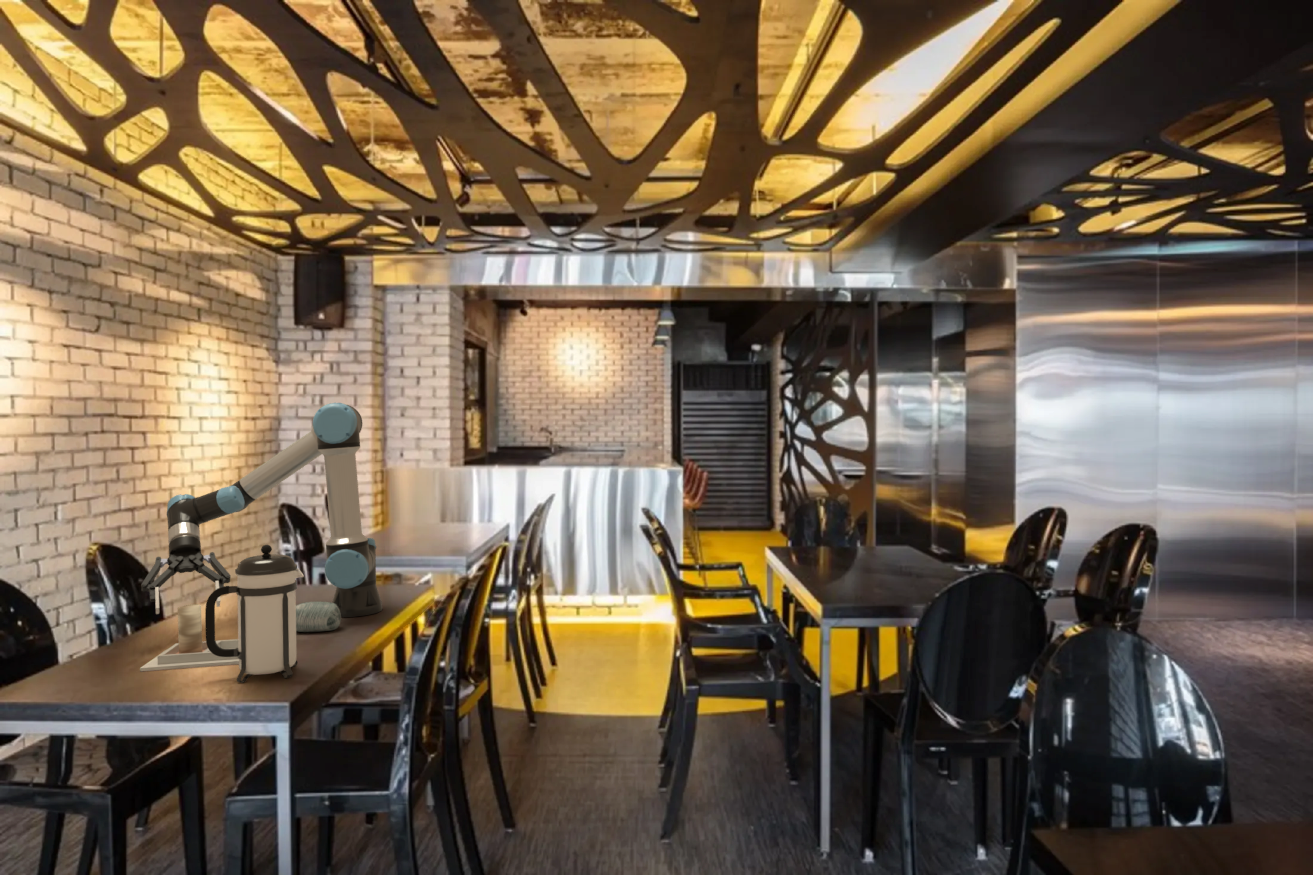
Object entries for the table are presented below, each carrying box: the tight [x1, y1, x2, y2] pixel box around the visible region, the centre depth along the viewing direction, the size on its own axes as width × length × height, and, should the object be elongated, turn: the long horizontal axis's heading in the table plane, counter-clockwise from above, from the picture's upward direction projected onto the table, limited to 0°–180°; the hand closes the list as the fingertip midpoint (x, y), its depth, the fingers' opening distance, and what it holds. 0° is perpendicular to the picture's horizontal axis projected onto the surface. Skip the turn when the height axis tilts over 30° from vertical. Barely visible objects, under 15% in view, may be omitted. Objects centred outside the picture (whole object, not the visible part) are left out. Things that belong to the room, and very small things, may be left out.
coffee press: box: [204, 544, 304, 684], centre depth 180 cm, size 17×16×30 cm
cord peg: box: [177, 604, 203, 654], centre depth 193 cm, size 5×5×12 cm
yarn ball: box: [296, 601, 342, 633], centre depth 221 cm, size 14×10×10 cm
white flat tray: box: [139, 638, 239, 672], centre depth 195 cm, size 26×16×3 cm, turn 103°
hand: (188, 607), depth 203 cm, fingers open, 13 cm apart
